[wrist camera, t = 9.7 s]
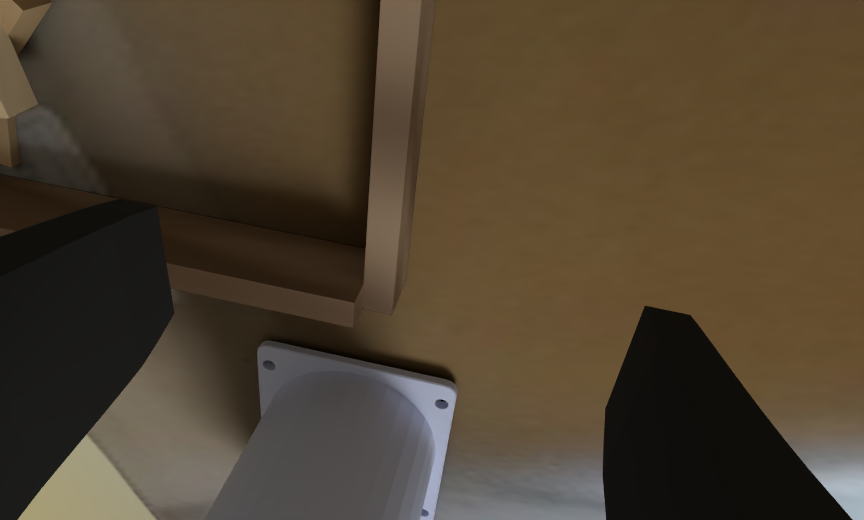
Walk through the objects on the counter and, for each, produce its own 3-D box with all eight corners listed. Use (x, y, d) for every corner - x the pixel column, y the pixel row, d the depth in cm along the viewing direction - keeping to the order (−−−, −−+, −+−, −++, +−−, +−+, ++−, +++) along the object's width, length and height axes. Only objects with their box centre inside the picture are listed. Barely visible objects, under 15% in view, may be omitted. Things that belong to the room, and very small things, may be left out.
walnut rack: (405, 280, 22) (383, 334, 20) (-31, 190, 24) (-102, 229, 21) (447, -115, 15) (422, -109, 13) (-165, -201, 17) (-291, -210, 15)
